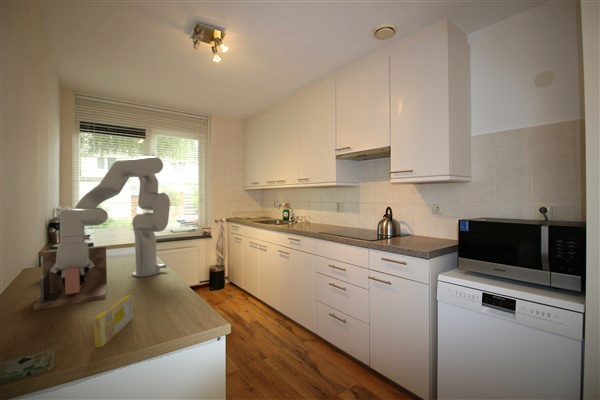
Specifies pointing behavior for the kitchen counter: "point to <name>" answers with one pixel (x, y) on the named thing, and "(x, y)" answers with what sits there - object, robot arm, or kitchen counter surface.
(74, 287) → the book
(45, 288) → the bookend
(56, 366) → the kitchen counter surface
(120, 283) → the kitchen counter surface
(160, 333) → the kitchen counter surface
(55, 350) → the kitchen counter surface
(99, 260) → the shelf
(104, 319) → the candy box
